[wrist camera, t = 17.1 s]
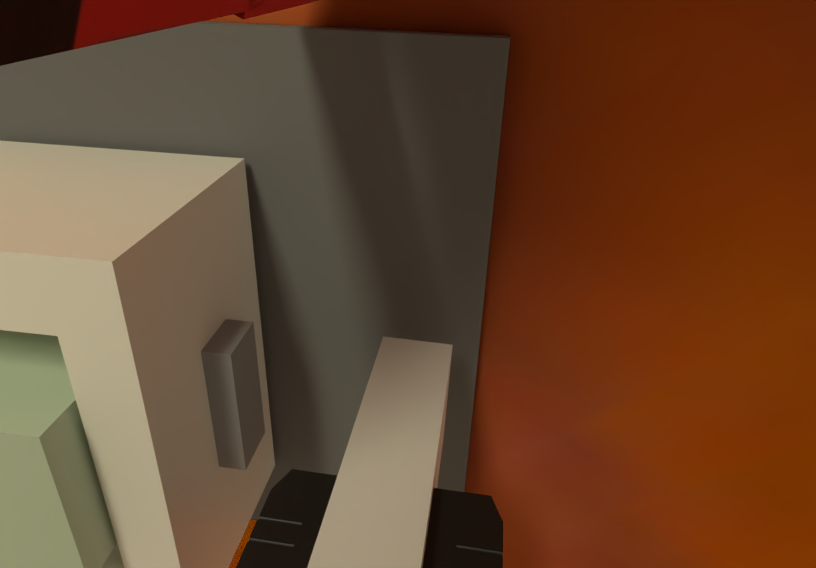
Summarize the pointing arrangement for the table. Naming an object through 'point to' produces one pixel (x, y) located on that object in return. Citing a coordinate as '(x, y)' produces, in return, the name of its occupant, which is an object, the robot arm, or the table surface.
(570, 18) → the table surface
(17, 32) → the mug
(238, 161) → the cap
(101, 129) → the mat
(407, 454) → the robot arm
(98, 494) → the slat
